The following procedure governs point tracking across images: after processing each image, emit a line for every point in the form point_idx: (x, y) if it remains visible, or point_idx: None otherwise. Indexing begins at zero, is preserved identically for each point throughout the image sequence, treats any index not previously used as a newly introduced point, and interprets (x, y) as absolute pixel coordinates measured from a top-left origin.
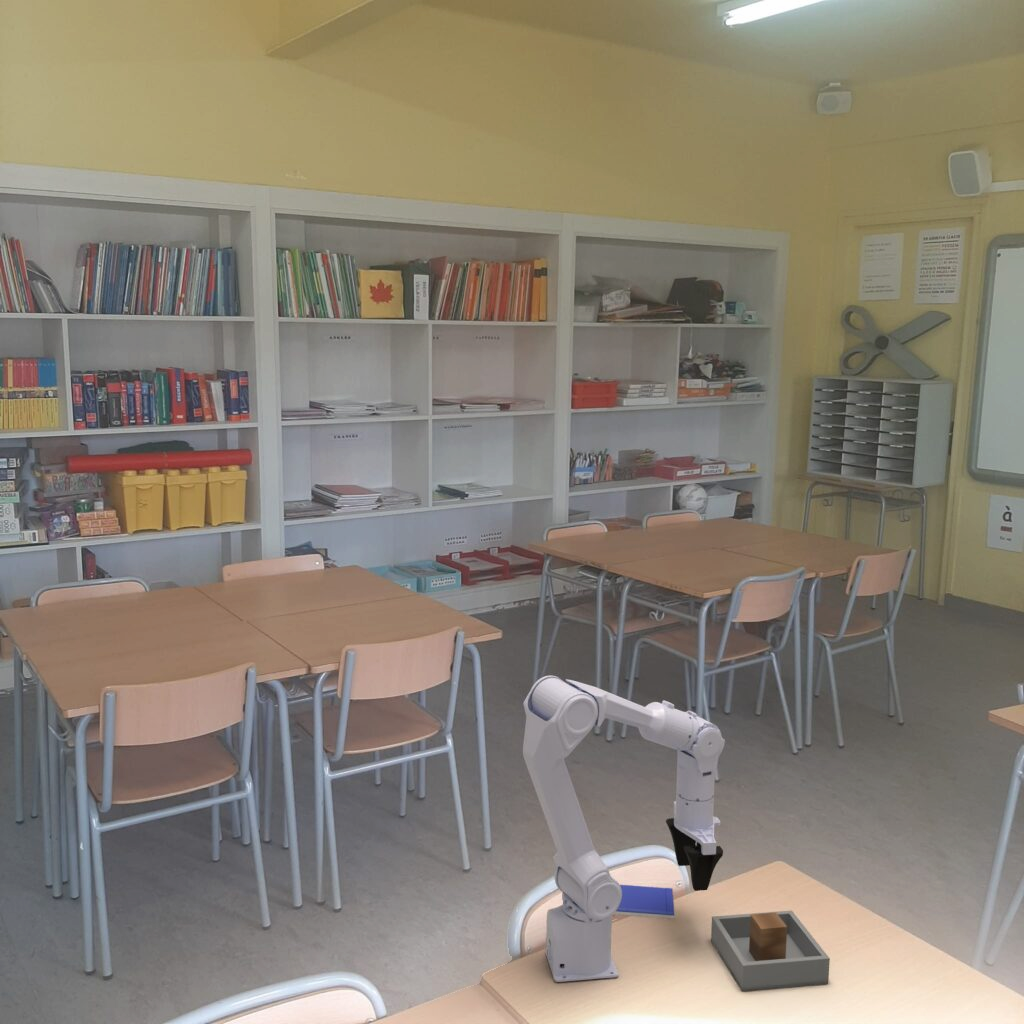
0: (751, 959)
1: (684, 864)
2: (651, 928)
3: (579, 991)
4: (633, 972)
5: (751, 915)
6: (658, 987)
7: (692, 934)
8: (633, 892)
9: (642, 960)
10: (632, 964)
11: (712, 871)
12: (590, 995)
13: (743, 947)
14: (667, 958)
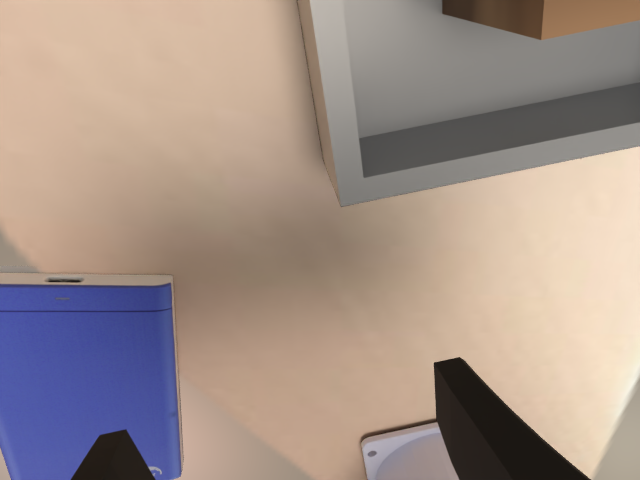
0: None
1: (140, 466)
2: (252, 341)
3: None
4: None
5: (551, 36)
6: (554, 327)
7: (280, 221)
8: (49, 407)
9: (426, 361)
10: None
11: (581, 473)
12: None
13: (407, 34)
14: (423, 303)
